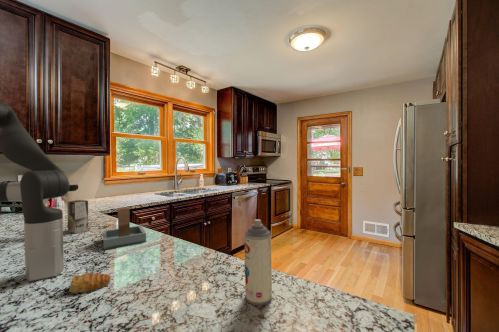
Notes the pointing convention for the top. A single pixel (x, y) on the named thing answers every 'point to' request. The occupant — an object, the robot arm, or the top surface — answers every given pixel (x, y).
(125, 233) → the walnut block
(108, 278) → the pastry
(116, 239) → the slate tray
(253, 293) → the aerosol can
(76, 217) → the coffee box
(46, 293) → the top surface
